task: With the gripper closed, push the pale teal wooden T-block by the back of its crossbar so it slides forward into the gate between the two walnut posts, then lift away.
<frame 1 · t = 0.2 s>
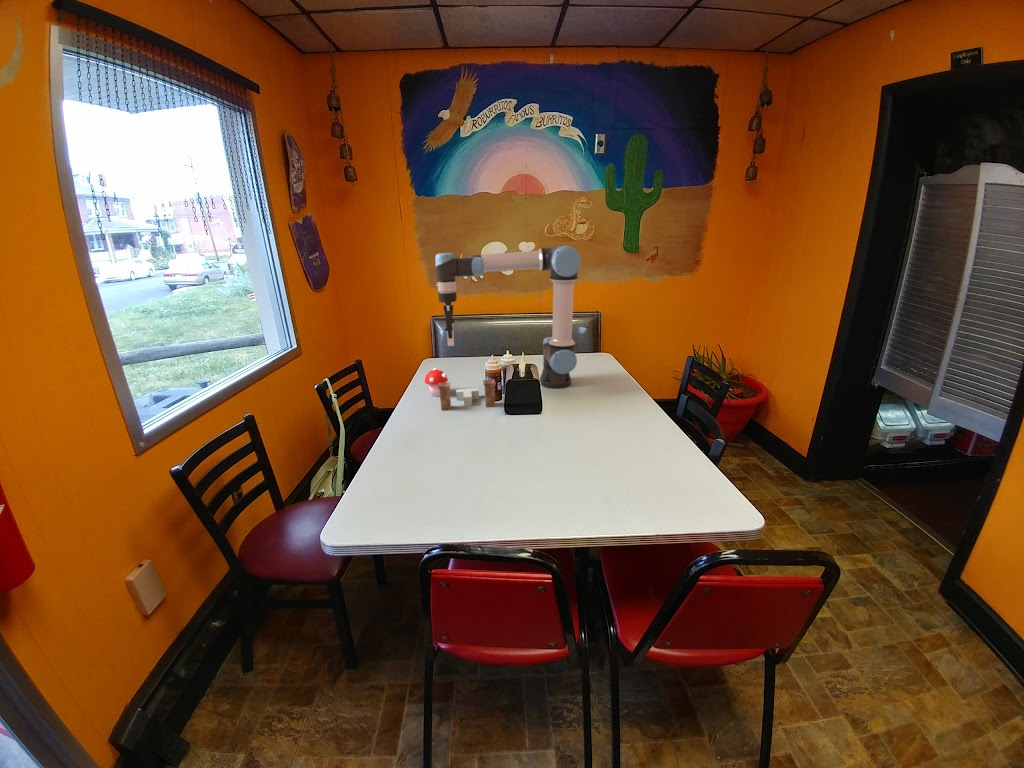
hand: (450, 341, 192), 27 cm above the table, fingers open, 13 cm apart
post 2: (490, 405, 193), on the table
mushroom: (437, 394, 208), on the table
t block: (467, 398, 202), on the table
post 1: (446, 408, 192), on the table
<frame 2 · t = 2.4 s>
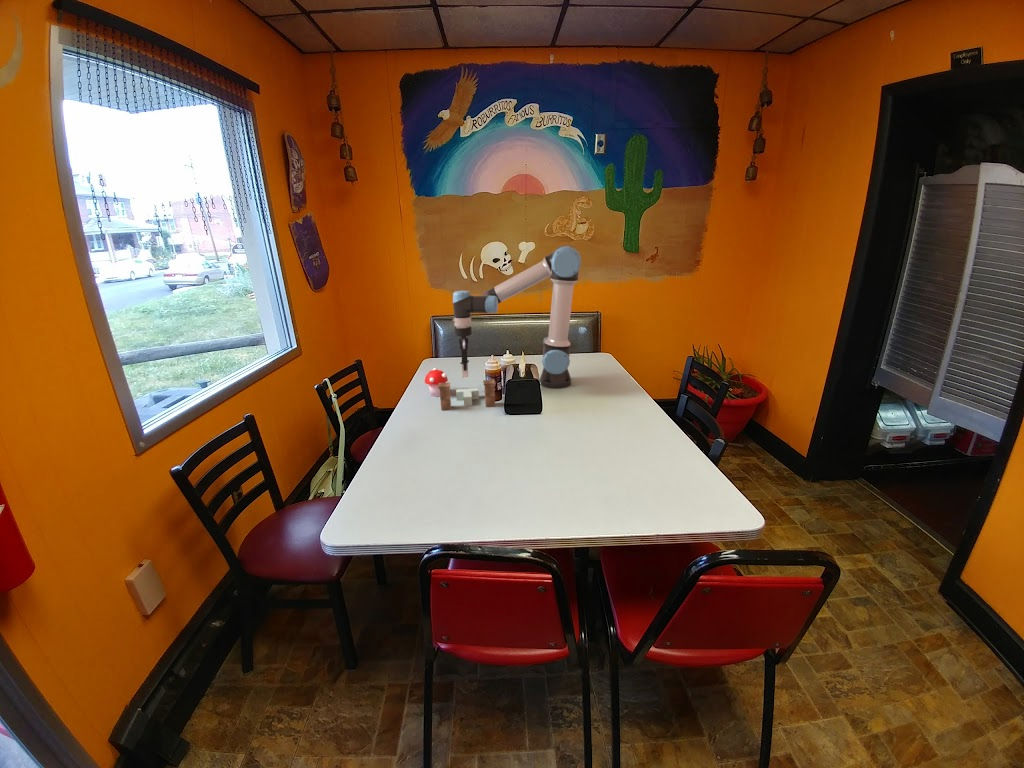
hand: (465, 376, 206), 8 cm above the table, fingers closed
nothing on the table moved.
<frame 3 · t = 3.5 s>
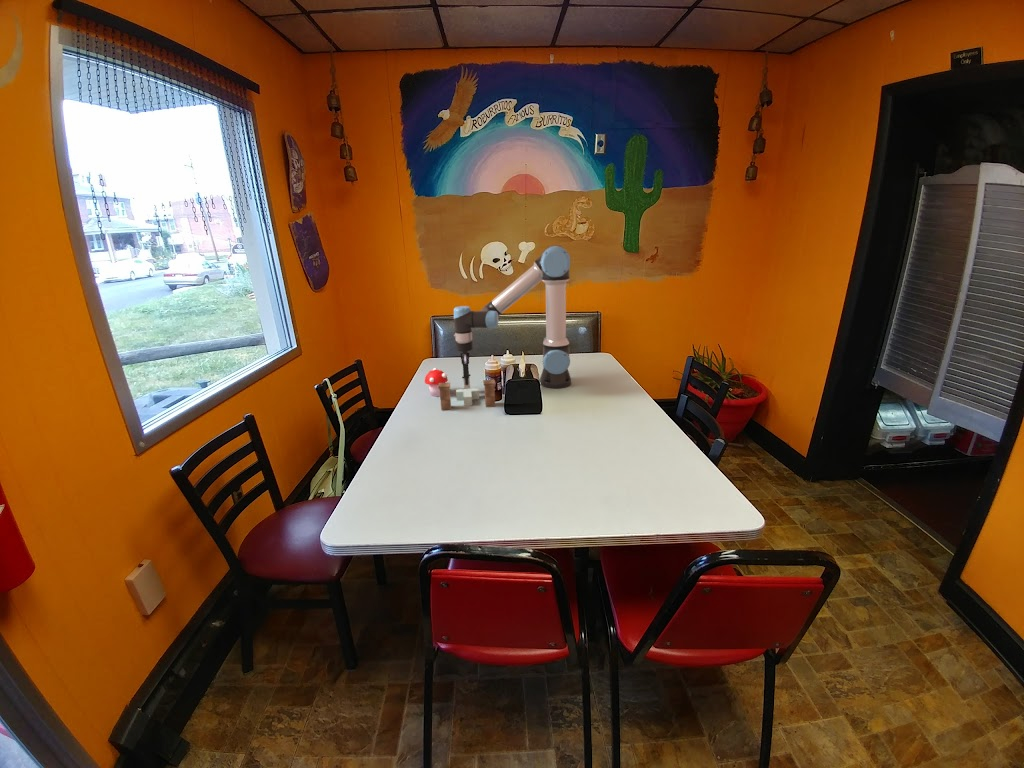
hand: (467, 390, 207), 1 cm above the table, fingers closed
nothing on the table moved.
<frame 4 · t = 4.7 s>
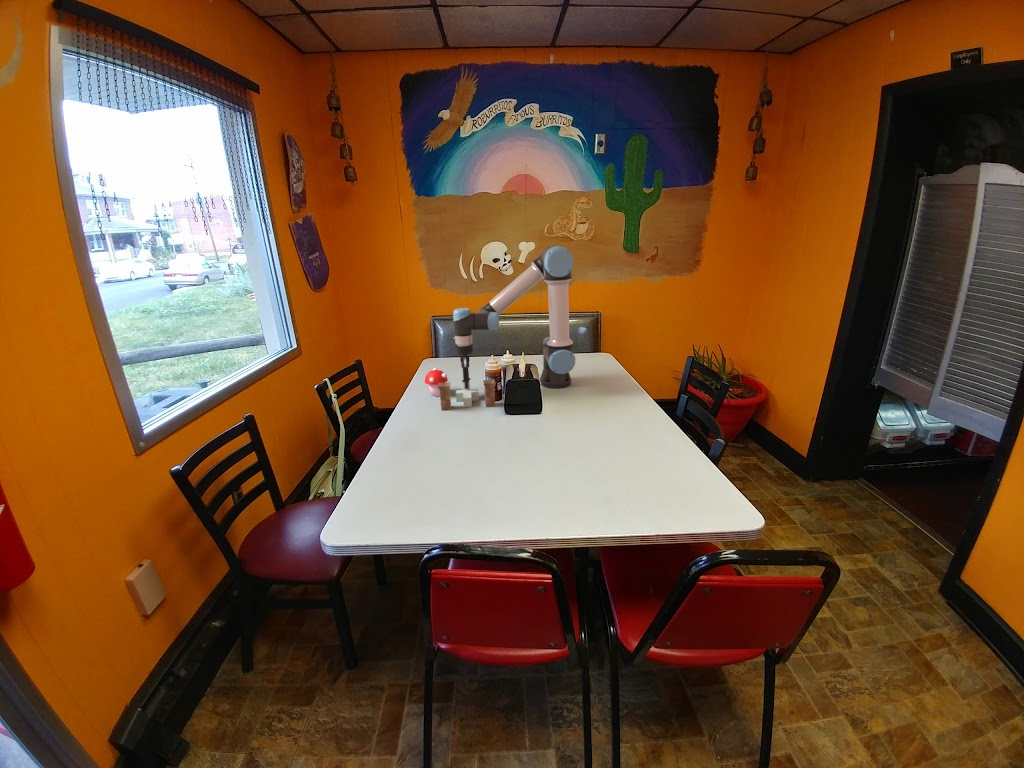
hand: (467, 394, 202), 2 cm above the table, fingers closed
t block: (467, 399, 200), on the table, touching gripper
everything else where it was.
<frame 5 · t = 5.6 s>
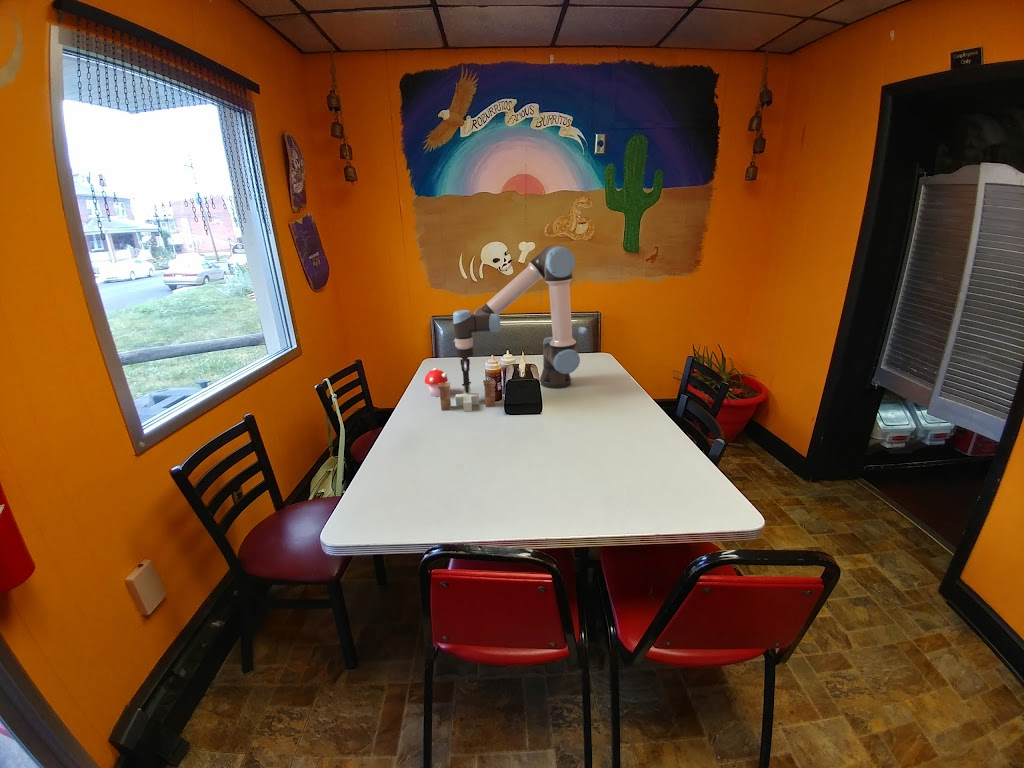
hand: (467, 398, 198), 1 cm above the table, fingers closed
t block: (467, 403, 196), on the table, touching gripper
everything else where it was.
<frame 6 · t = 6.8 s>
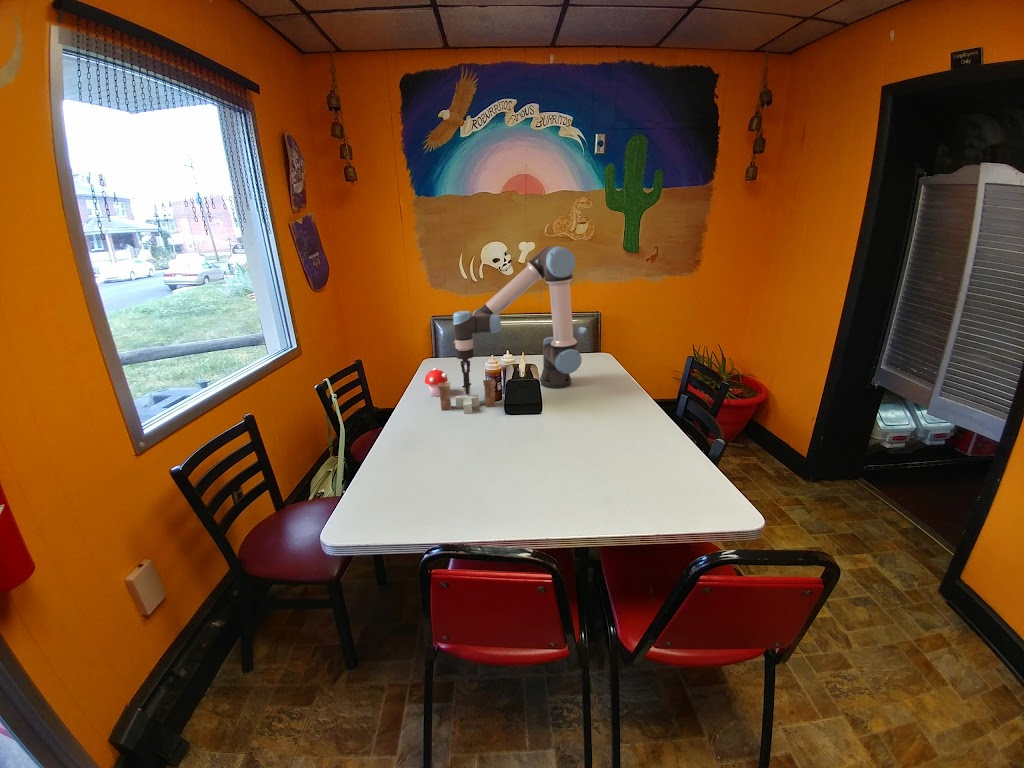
hand: (467, 400, 196), 1 cm above the table, fingers closed
t block: (467, 405, 194), on the table, touching gripper
everything else where it was.
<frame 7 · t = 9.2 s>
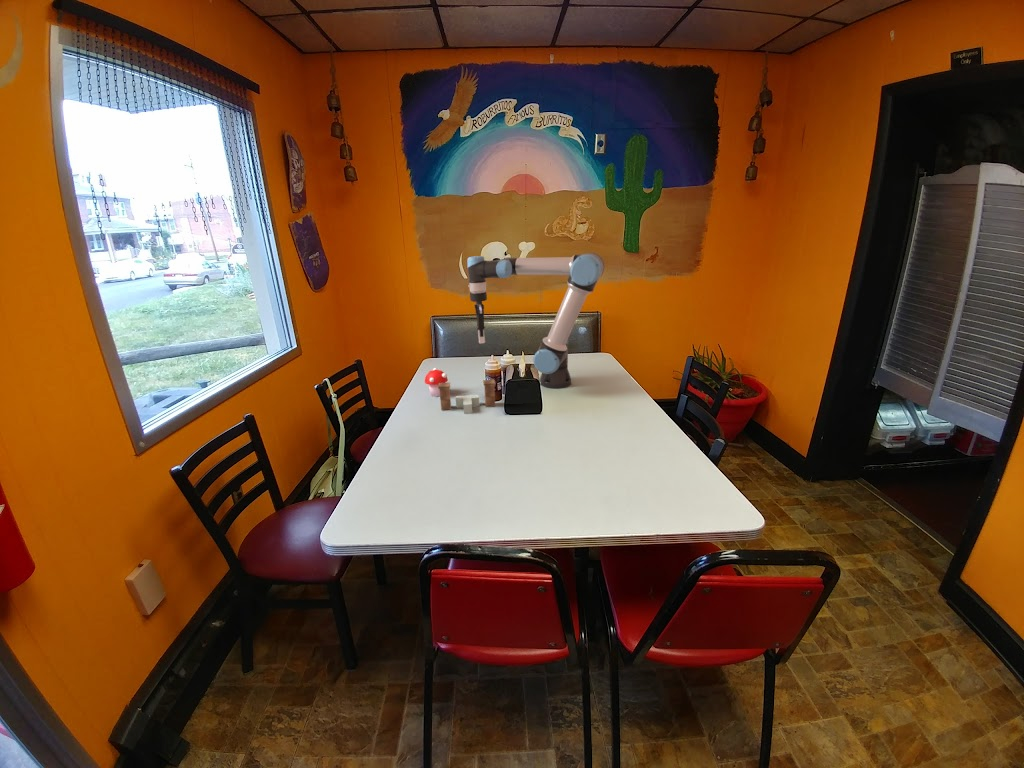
hand: (482, 342, 208), 22 cm above the table, fingers closed
t block: (467, 405, 194), on the table
everything else where it was.
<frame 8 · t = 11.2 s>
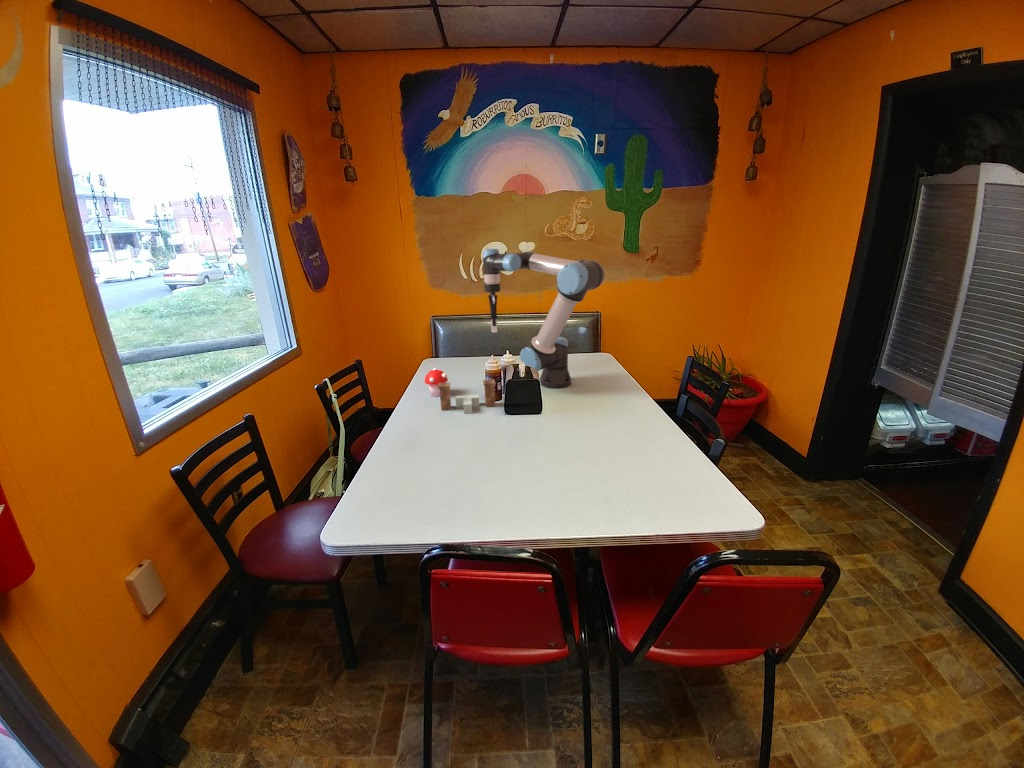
hand: (494, 332, 218), 24 cm above the table, fingers closed
nothing on the table moved.
at the end: t block inside the target area (1.1 cm from its centre), on the table; t block moved 8.4 cm from its start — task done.
